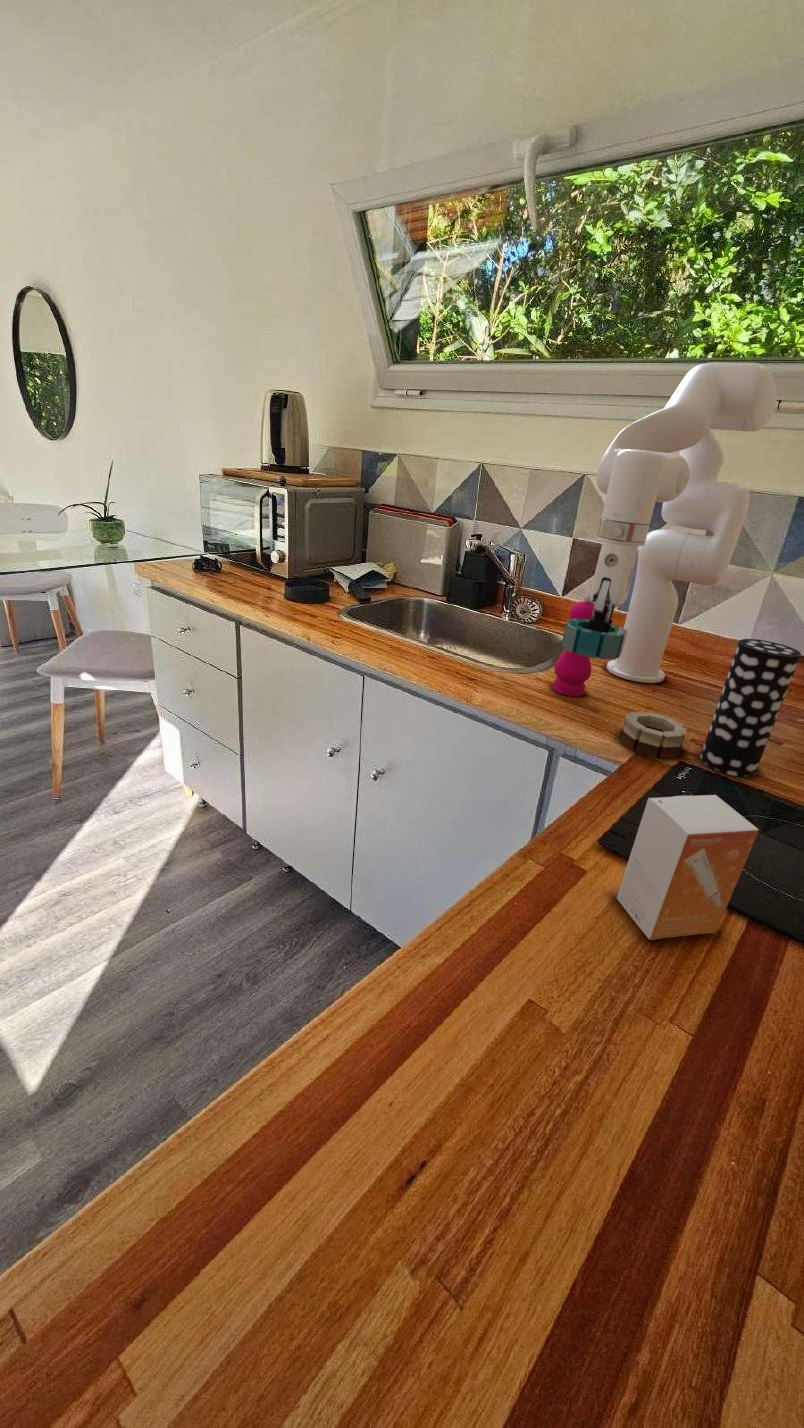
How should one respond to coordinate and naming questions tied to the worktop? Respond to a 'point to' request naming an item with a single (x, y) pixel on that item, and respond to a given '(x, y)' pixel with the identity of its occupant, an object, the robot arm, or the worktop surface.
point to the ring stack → (653, 734)
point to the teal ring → (593, 640)
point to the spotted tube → (749, 706)
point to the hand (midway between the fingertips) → (596, 641)
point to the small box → (685, 865)
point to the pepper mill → (574, 658)
